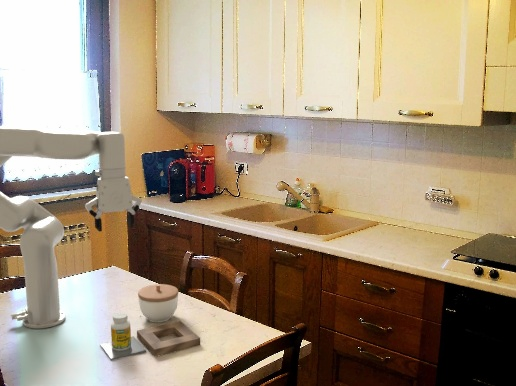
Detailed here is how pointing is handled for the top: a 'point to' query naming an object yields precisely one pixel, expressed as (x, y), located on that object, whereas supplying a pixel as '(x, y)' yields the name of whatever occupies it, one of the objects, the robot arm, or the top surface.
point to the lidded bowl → (158, 302)
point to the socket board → (158, 348)
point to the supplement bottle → (120, 332)
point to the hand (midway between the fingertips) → (114, 228)
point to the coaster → (133, 350)
